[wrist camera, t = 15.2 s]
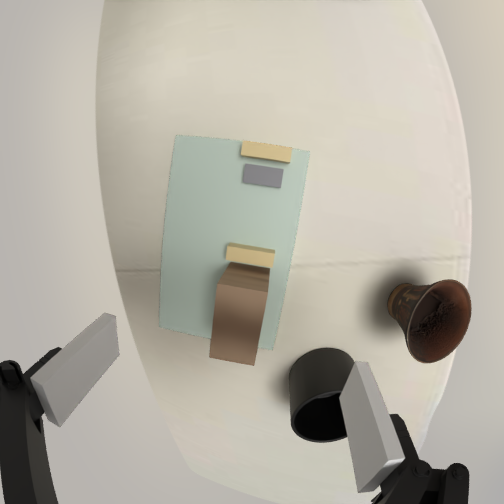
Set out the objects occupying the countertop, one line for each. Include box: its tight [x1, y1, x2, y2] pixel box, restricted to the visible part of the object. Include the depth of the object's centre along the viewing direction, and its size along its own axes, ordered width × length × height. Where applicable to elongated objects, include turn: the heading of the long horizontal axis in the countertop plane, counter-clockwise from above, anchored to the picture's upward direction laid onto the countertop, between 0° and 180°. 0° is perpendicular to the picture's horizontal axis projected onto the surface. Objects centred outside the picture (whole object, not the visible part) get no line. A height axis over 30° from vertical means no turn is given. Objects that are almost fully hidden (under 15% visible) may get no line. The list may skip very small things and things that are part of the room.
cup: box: [388, 280, 471, 363], centre depth 27 cm, size 9×9×10 cm
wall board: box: [159, 135, 310, 350], centre depth 31 cm, size 24×15×3 cm, turn 171°
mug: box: [289, 348, 355, 443], centre depth 31 cm, size 9×12×9 cm
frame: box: [209, 262, 270, 366], centre depth 29 cm, size 8×5×8 cm, turn 171°
